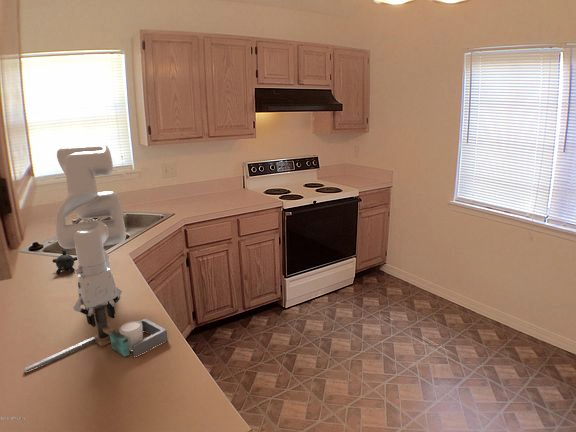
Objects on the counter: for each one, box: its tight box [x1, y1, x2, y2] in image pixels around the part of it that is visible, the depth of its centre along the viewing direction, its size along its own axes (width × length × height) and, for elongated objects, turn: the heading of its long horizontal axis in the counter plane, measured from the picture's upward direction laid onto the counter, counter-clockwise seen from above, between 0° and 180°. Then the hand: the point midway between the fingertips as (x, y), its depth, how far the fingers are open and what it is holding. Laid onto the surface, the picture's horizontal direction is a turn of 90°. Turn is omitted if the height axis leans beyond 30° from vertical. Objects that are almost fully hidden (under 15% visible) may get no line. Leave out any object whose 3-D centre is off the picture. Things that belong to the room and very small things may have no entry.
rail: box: [23, 336, 96, 372], centre depth 122 cm, size 1×24×1 cm, turn 141°
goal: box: [116, 318, 169, 358], centre depth 126 cm, size 12×11×4 cm
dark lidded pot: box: [52, 249, 78, 275], centre depth 185 cm, size 11×11×12 cm
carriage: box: [93, 305, 130, 358], centre depth 122 cm, size 16×4×12 cm, turn 51°
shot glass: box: [118, 320, 144, 352], centre depth 124 cm, size 7×7×7 cm
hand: (102, 320), depth 126 cm, fingers open, 5 cm apart
